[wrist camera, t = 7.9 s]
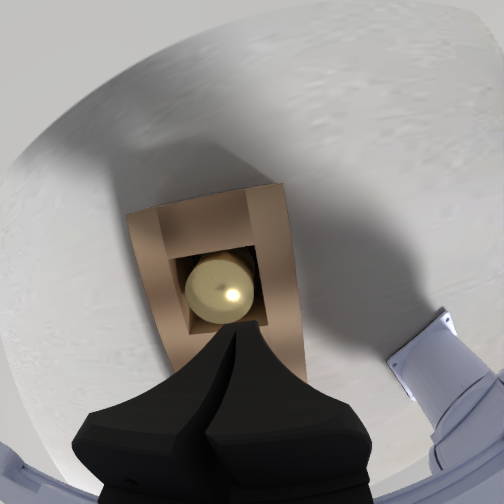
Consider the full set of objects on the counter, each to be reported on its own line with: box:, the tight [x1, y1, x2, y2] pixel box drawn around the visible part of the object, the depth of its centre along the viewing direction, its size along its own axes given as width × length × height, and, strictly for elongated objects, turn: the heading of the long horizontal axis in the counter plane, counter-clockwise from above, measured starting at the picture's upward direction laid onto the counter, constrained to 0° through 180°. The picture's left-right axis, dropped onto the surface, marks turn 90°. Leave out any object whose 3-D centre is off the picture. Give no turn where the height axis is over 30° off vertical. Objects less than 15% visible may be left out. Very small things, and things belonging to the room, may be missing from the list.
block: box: [126, 183, 307, 383], centre depth 19 cm, size 22×9×5 cm, turn 10°
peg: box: [185, 247, 254, 324], centre depth 18 cm, size 4×4×5 cm
